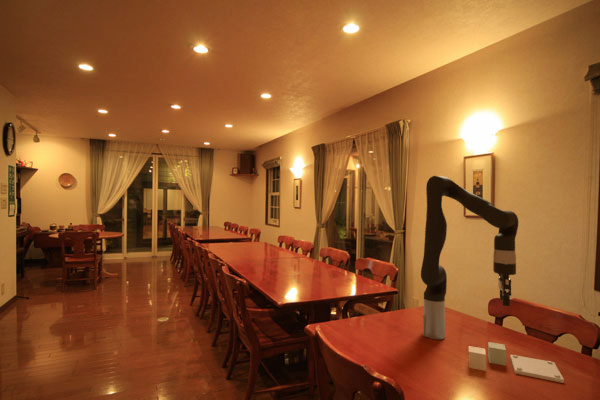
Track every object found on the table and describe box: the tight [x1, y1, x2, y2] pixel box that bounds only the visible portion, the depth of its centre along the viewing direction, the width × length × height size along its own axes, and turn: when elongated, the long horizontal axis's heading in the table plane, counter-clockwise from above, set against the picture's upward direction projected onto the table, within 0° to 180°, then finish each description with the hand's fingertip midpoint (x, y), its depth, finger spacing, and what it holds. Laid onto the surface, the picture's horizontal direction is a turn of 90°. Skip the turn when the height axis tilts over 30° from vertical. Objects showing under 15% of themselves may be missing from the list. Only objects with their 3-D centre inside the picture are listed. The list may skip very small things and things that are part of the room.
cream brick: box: [468, 345, 487, 372], centre depth 121 cm, size 6×6×6 cm
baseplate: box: [509, 354, 565, 384], centre depth 119 cm, size 14×14×2 cm
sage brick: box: [487, 341, 507, 367], centre depth 125 cm, size 6×6×6 cm
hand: (504, 302), depth 125 cm, fingers open, 8 cm apart
